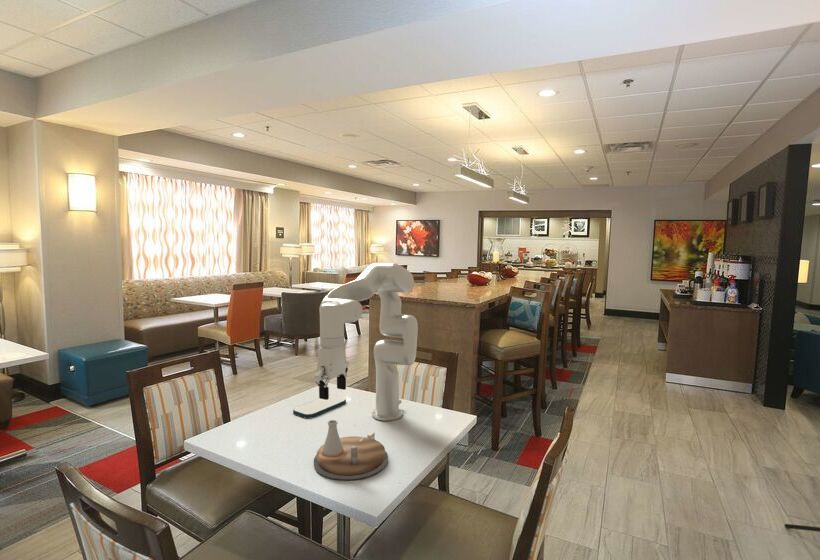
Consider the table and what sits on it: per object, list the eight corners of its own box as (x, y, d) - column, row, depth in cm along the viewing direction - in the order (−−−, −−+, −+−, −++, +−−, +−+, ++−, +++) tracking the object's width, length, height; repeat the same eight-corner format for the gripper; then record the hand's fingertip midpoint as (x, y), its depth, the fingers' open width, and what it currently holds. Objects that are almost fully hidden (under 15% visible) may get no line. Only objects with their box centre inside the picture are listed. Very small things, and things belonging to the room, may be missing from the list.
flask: (339, 458, 135) (339, 427, 135) (317, 455, 137) (317, 425, 136) (347, 447, 142) (347, 418, 142) (326, 445, 144) (326, 416, 143)
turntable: (315, 445, 148) (315, 425, 148) (378, 439, 154) (379, 420, 153) (318, 479, 127) (317, 456, 127) (391, 470, 132) (391, 448, 132)
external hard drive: (308, 420, 174) (308, 415, 173) (289, 414, 180) (289, 409, 180) (348, 403, 193) (348, 399, 193) (330, 398, 199) (330, 393, 199)
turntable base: (344, 436, 159) (344, 425, 158) (403, 449, 149) (403, 438, 148) (297, 470, 134) (297, 457, 134) (364, 488, 125) (364, 475, 124)
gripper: (337, 334, 146) (338, 383, 148) (305, 346, 130) (306, 401, 132) (356, 337, 143) (357, 387, 145) (326, 349, 127) (326, 405, 129)
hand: (332, 393), depth 138 cm, fingers open, 9 cm apart
